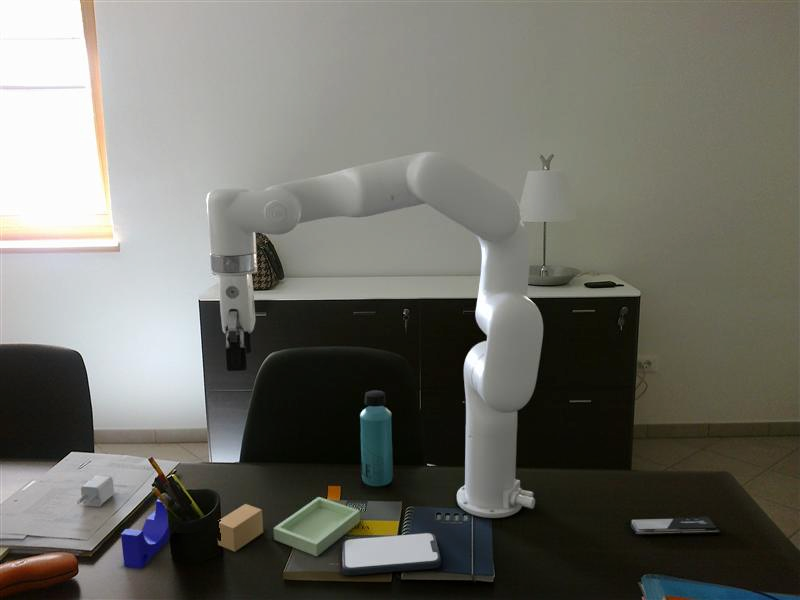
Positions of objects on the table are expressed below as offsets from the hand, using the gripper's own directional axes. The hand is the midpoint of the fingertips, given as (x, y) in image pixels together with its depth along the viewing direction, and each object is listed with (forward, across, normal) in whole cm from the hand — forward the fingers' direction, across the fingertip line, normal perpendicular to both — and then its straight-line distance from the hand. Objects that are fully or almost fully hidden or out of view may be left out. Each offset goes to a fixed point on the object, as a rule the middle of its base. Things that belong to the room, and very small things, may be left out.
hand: (239, 361), depth 117 cm
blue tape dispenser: (+31, -5, +17) cm, 36 cm away
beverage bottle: (+31, +10, -25) cm, 41 cm away
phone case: (+31, -15, -24) cm, 42 cm away
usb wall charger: (+31, +11, +30) cm, 45 cm away
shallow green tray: (+31, -5, -12) cm, 34 cm away
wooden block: (+31, -5, +1) cm, 31 cm away
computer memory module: (+31, -14, -75) cm, 82 cm away
